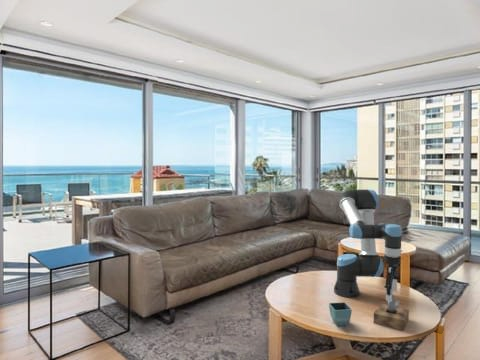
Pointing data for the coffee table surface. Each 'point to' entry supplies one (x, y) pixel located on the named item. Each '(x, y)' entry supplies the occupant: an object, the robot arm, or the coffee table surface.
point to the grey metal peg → (391, 305)
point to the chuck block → (391, 316)
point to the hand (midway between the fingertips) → (391, 295)
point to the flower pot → (340, 313)
